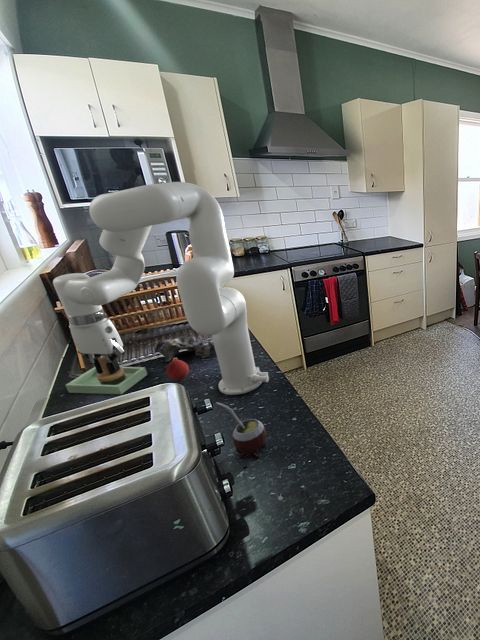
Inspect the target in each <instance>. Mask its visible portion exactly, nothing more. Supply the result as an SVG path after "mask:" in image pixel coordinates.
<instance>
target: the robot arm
mask: <svg viewBox="0 0 480 640" xmlns="http://www.w3.org/2000/svg"><path fill="white" fill-rule="evenodd" d="M88 208H89V209H88V212H89V216H90V218H91V220H92V222H93V223H94V225H96V226H97V227H98V228H100V229H102V231H101V234H100V237H99V245H100V246H101V248H102V249H103V250H104V251H106V252H108V253H109V254H111V255H113V256H115V260H114V262H113V265H112V267H111V269H109V270H107V271H104V272H102V273H98V274H96V275H93V276H91V277H90V275H88V274H86V273H81V272H75V273H67V274H66V273H65V274H62V275H59V276H57V277H54V279H53V280H52V285H53V287H54V290H55V292H56V295H57V296H58V299H59V301H60V303H61V306H62V308H63V310H64V313H65V315H66V317H67V319H68V321H69V330H70V335H71V338H72V341H73V343H74V345H75V348H76V349H77V353H78V354H80V355H82V356H85V357H86V358H87V359H89V361H90V363H93V366H94V367H95V368H96V370H97V372H98V374H102V373H103V370H102V368H101V366H100V363H99V361H98V358H99V357H100V356H103V355H104V357H105V359H106V361H107V363H106V366H107V368H108V371H109V373H110V374H114V373H116V372H117V371H119V370H120V367H121V366H120V364H119V361H118V359H119V358H120V356H122V355H123V354H125V353H126V351H125V349H124V348H123V347H124V344H123V341H122V339H121V336H120V334H119V332H118V330H117V329H116V326H115V325H114V324H113V322H112V321H111V319H110V318H108V315H107V313H105V311H104V309H103V306H104V305H106V304H109V303H112V302H113V301H116V300H118V299H120V298H121V297H123V296H126V295H128V294H130V293H132V292H133V291H134V290H135V289H136V288H137V287H138V286H139V284H140V282H141V279H142V277H143V275H144V272H145V269H146V265H145V259H144V258H145V257H144V255H143V254H142V251H143V248H144V246H145V244H146V241H147V239H148V237H149V234H150V232H151V230H152V227H153V226H155V225H163V224H167V223H170V222H175V221H178V220H181V219H182V220H183V219H188V221H189V226H188V237H189V242H190V246H191V251H192V258H190V259H188V260H186V261H184V262H183V263H182V264H181V265H180V266H179V268H178V269H177V271H176V277H175V279H176V280H175V281H176V286H177V291H178V294H179V298H180V301H181V304H182V308H183V311H184V316H185V318H186V320H187V324H189V326H190V328H191V329H192V330H193V331H195V333H198V334H199V335H202V336H204V337H205V336H206V337H210V336H211V338H212V339H213V343H214V345H213V347H214V351H215V355H216V358H217V362H218V366H219V370H220V374H221V380H219V381H218V390H219V392H221V393H222V394H224V395H227V396H237V395H243V394H247V393H250V392H252V391H254V390H256V389H257V388H259V386H261V385H262V383H268V382H269V380H270V376H269V372H268V371H263V372H262V371H261V370H260V367H259V366H256V363H255V358H254V353H253V348H252V344H251V339H250V338H251V337H250V331H249V326H248V315H247V314H248V310H247V303H246V299H245V297H244V296H243V294H242V293H241V292H240V291H239V290H237V289H236V288H233V287H228V286H226V285H227V284H229V282H231V281H232V280H233V279H234V276H235V268H234V263H233V258H232V254H231V248H230V245H229V244H230V243H229V239H228V237H227V232H226V227H225V226H226V224H225V219H224V214H223V210H222V207H221V205H220V204H219V202H218V200H217V199H216V198H215V197H214V196H213V194H212V193H210V192H209V191H208V190H207V189H205V188H204V187H202V186H200V185H197V184H195V183H191V182H187V181H170V182H169V181H168V182H162V183H152V184H151V183H150V184H144V185H139V186H135V187H131V188H127V189H123V190H117V191H113V192H108V193H103V194H99V195H97V196H95V197H94V198H93V199H92V200H91V202H90V203H89V207H88ZM224 286H225V287H224Z"/></svg>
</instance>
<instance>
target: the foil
mask: <svg viewBox="0 0 480 640" xmlns="http://www.w3.org/2000/svg"><path fill="white" fill-rule="evenodd" d="M213 347H214V343H213V338H212V339H211V340H209V341H208V343H205V341H204V340H202V339H200V338H197V339H196V340H194V338H193V337H192V336H191V335H189V336H188V337H185V336H183V335H182V336H181V335H180V336H178V337H175V338H171V339H166V340H163V341H161V342H158V343H157V345H155V348H154V352H155V353H157V354H161V355H162V356H163V357H164V358H165V359H164V363H169V362H171V361H172V360H173V358H174V356H175V355H177V354H179V353H180V351H181V350H187V351H188V352H192V351H194V354H195V356H200V357H205V358H206V357H207V358H208V357H210V353H211V349H212V348H213Z"/></svg>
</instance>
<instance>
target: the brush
mask: <svg viewBox="0 0 480 640" xmlns="http://www.w3.org/2000/svg"><path fill="white" fill-rule="evenodd" d="M98 361H99V363H100V366H101V368H102V370H103V373H102V374H97V376H96V377H97V379H98V381H99V382H100V384H101V385H116V384H118V383H121V382H122V381H124V380H125V378H126V376H125V374H124V373H125V372H124V369H123V368H121V367H122V366H120V370H119V371H117V372H116V373H114V374H110V373H109V371H108V368H107V366H106V363H107V361H106V359H105V357H104V355H103V354H102V356H100V357H99V358H98Z"/></svg>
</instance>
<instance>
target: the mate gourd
mask: <svg viewBox="0 0 480 640" xmlns="http://www.w3.org/2000/svg"><path fill="white" fill-rule="evenodd" d="M215 404H216V405H218V406H220V407H222V408H224V409H226V410H227V411H228V413H229V414H230V415H232V417H233V418H234V419H235V421H236V422H237V425H236V426H235V428H234V429H233V431H232V443H233V445H234V448H235V450H236V452H237V453H238V454H239V456H238V457H239V459H244V458H246V457H248V456H250V455H252V456H253V457H254V458H255V460H259V459H260V458H261V457H260V455H259V451H260V450H262V449H264V448H266V447H267V442H266V439H267V429H266V427H265V426H264V424H263V423H262V422H261V421H260V420H258V419H256V418H249V419H245V420H243V421H241V420H240V419H239V417H238V416H237V414H236V413H235V412H234V410H233V409H232V408H230V406H227V404H224V403H221V402H218V401H216V402H215ZM243 453H244V454H243ZM254 453H255V454H256V455H257V454H258V455H257V456H256V455H255V454H254ZM241 454H242V455H241Z"/></svg>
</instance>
